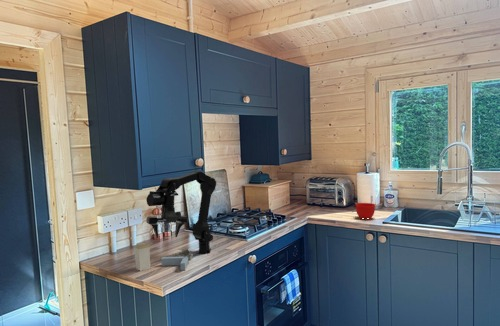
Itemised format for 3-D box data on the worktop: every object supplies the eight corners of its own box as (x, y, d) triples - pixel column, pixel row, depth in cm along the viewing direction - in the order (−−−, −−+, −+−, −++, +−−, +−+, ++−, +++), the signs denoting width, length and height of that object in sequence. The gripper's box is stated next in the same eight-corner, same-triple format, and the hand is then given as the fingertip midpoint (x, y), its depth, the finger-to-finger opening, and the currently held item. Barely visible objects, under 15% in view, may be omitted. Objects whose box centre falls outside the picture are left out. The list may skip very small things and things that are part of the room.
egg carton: (189, 256, 183) (188, 248, 182) (194, 260, 176) (193, 252, 176) (168, 260, 178) (168, 252, 177) (173, 264, 171) (172, 256, 171)
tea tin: (146, 265, 171) (144, 243, 170) (150, 268, 167) (149, 245, 166) (135, 268, 167) (134, 245, 166) (140, 271, 163) (138, 247, 162)
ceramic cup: (371, 215, 261) (371, 201, 260) (377, 220, 244) (377, 206, 243) (353, 215, 262) (353, 202, 261) (357, 220, 245) (357, 206, 245)
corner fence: (162, 264, 171) (162, 257, 171) (188, 263, 171) (188, 256, 171) (157, 271, 162) (157, 264, 162) (185, 270, 162) (184, 263, 162)
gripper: (152, 207, 159) (151, 242, 159) (192, 206, 168) (191, 239, 168) (146, 204, 169) (145, 237, 169) (184, 204, 178) (183, 235, 178)
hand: (166, 237), depth 171 cm, fingers open, 9 cm apart
